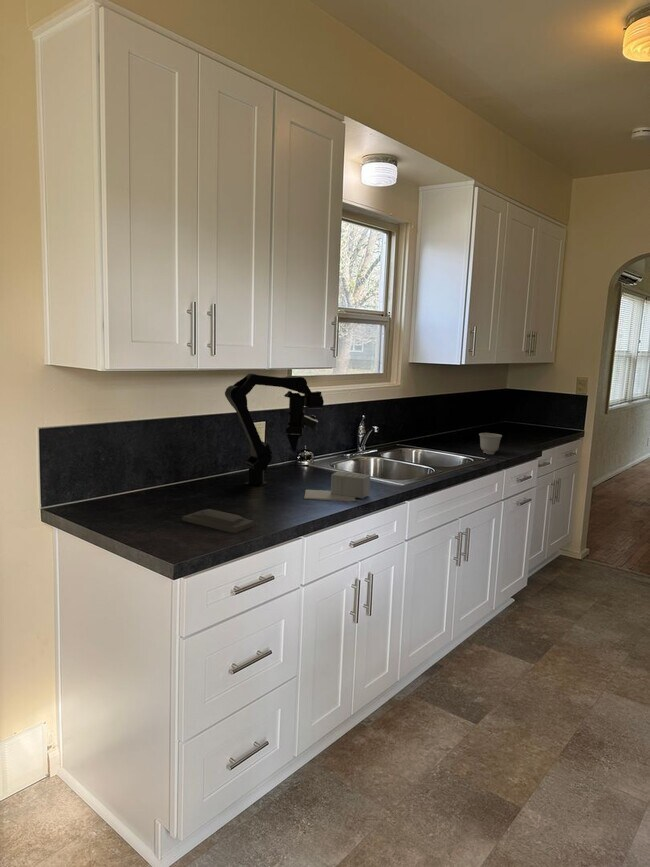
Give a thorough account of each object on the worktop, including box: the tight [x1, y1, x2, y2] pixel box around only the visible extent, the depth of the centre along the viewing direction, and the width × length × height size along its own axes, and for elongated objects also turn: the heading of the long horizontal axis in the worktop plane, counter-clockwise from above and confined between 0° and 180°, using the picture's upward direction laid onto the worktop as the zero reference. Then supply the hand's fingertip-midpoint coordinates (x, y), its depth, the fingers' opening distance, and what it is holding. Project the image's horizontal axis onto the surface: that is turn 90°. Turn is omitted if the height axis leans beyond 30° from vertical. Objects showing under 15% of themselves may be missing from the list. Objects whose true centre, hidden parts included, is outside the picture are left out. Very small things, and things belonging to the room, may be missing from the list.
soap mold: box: [181, 508, 256, 534], centre depth 196 cm, size 10×20×4 cm, turn 59°
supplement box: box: [330, 470, 371, 499], centre depth 237 cm, size 7×7×13 cm
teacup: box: [478, 432, 503, 455], centre depth 343 cm, size 12×15×10 cm
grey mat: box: [303, 489, 356, 502], centre depth 235 cm, size 18×12×1 cm, turn 89°
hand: (294, 449), depth 253 cm, fingers open, 9 cm apart
